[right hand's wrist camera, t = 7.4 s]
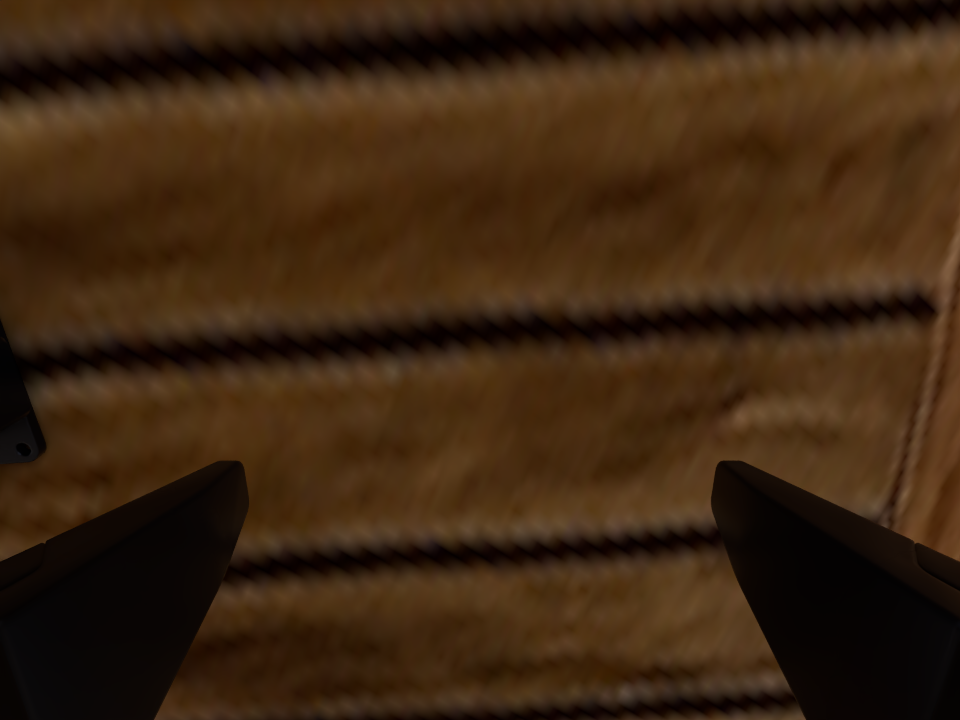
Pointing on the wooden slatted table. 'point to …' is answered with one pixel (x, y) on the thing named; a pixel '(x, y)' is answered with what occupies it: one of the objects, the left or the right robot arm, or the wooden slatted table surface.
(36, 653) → the right robot arm
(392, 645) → the wooden slatted table surface
